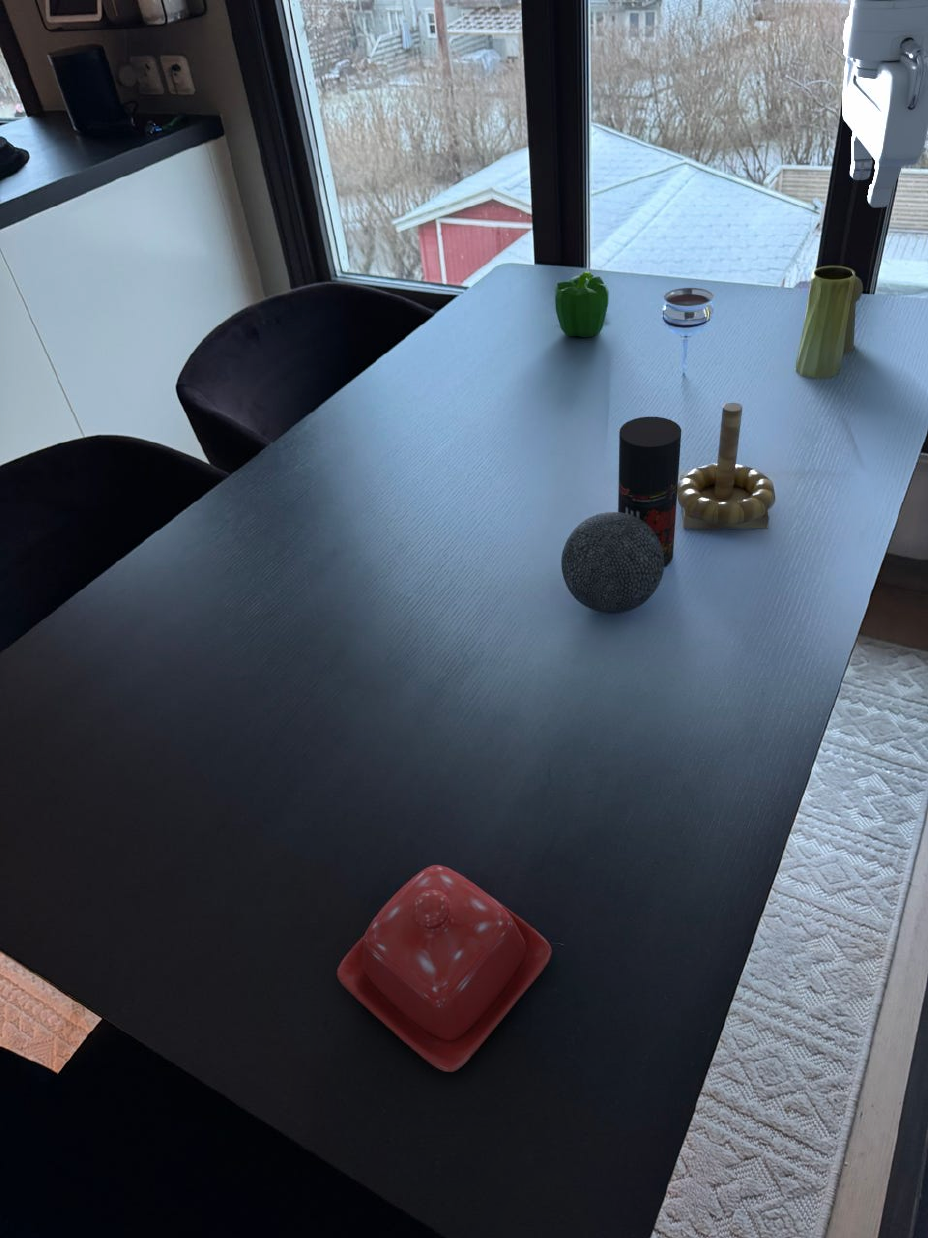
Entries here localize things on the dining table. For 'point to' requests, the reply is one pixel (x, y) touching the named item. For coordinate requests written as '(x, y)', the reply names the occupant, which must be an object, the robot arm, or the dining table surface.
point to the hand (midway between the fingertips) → (868, 191)
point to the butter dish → (443, 965)
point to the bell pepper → (581, 305)
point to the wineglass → (687, 313)
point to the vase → (825, 322)
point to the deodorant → (650, 475)
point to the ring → (726, 511)
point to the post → (726, 475)
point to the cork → (852, 316)
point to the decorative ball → (612, 562)
